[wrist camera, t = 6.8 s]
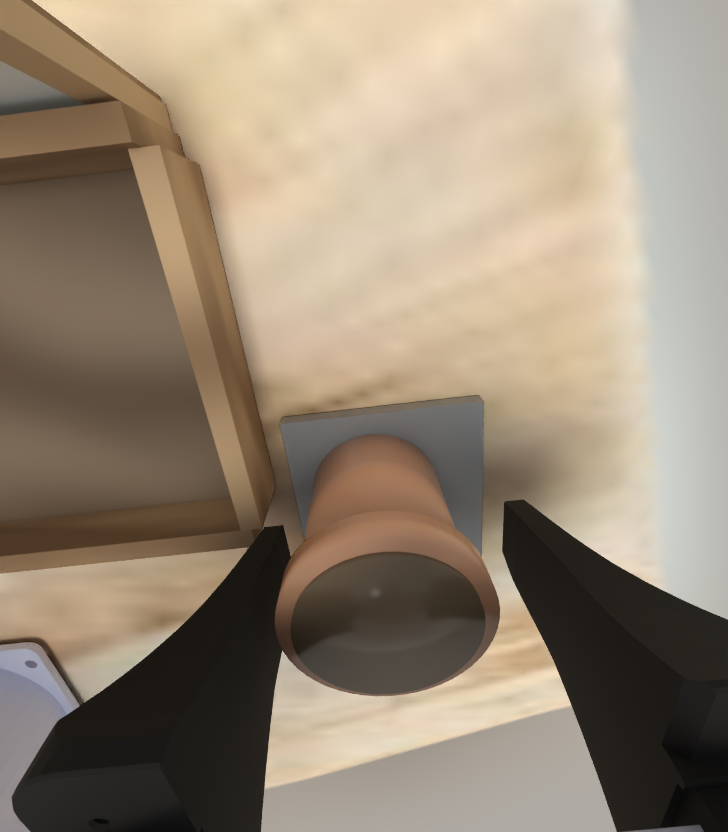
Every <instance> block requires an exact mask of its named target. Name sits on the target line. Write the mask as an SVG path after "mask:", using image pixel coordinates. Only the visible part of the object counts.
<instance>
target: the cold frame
mask: <svg viewBox="0 0 728 832" xmlns="http://www.w3.org/2000/svg"><path fill="white" fill-rule="evenodd" d="M22 1H23V2H24V3H26V4H27V5H29V6H30V7H31V8H33V9H34V10H35V11H37V12H38V13H40V14H41V15H42V16H44V17H45V18H46V19H48V20H49V21H51V22H52V23H53V24H55V25H56V26H57V27H59V28H60V29H62V30H63V31H64V32H66V33H67V34H68V35H70V36H71V37H73V38H74V39H75V40H77V41H78V42H79V43H81V44H82V45H84V46H85V47H86V48H88V49H89V50H90V51H92V52H93V53H95V54H96V55H97V56H99V57H100V58H102V59H103V60H104V61H106V62H107V63H108V64H110V65H111V66H113V67H114V68H115V69H117V70H118V71H119V72H121V73H122V74H124V75H125V76H126V77H128V78H129V79H130V80H132V81H133V82H135V83H136V84H137V85H139V86H140V87H141V88H143V89H144V90H146V91H147V92H148V93H150V94H151V95H152V96H154V97H155V98H157V99H158V100H159V101H161V100H160V96H159V95H157V94H156V93H155V92H153V91H152V90H151V89H149V88H148V87H147V86H145V85H144V84H143V83H141V82H140V81H139V80H137V79H136V78H135V77H133V76H132V75H131V74H129V73H128V72H127V71H125V70H124V69H123V68H121V67H120V66H119V65H117V64H116V63H115V62H113V61H112V60H111V59H109V58H108V57H107V56H105V55H104V54H103V53H101V52H100V51H99V50H97V49H96V48H95V47H93V46H92V45H91V44H89V43H88V42H87V41H85V40H84V39H83V38H81V37H80V36H79V35H77V34H76V33H75V32H73V31H72V30H71V29H69V28H68V27H67V26H65V25H64V24H63V23H61V22H60V21H59V20H57V19H56V18H55V17H53V16H52V15H51V14H49V13H48V12H47V11H45V10H44V9H42V8H41V7H40V6H38V5H37V4H36V3H34V2H33V1H32V0H22ZM275 486H276V485H275V481H274V477H273V472H272V468H271V464H270V460H269V456H268V451H267V447H266V443H265V439H264V435H263V430H262V426H261V422H260V418H259V414H258V409H257V405H256V401H255V397H254V393H253V388H252V384H251V380H250V376H249V372H248V367H247V363H246V359H245V355H244V351H243V346H242V342H241V338H240V334H239V330H238V325H237V321H236V317H235V313H234V308H233V304H232V300H231V296H230V292H229V287H228V283H227V279H226V275H225V271H224V266H223V262H222V258H221V254H220V250H219V245H218V241H217V237H216V233H215V229H214V224H213V220H212V216H211V212H210V208H209V203H208V199H207V195H206V191H205V187H204V182H203V178H202V174H201V170H200V166H199V164H197V163H195V162H192V161H190V160H188V159H186V158H185V157H184V153H183V149H182V145H181V141H180V137H179V136H178V135H176V134H175V133H173V132H171V131H170V130H168V129H166V128H165V127H163V126H161V125H160V124H158V123H157V122H155V121H153V120H152V119H150V118H148V117H147V116H145V115H143V114H142V113H140V112H138V111H137V110H135V109H133V108H132V107H130V106H128V105H127V104H125V103H123V102H122V101H112V102H104V103H96V104H88V105H81V106H73V107H65V108H57V109H49V110H41V111H34V112H26V113H18V114H10V115H2V116H0V573H9V572H19V571H28V570H38V569H47V568H57V567H66V566H75V565H85V564H94V563H104V562H113V561H123V560H132V559H141V558H151V557H160V556H170V555H179V554H189V553H198V552H207V551H217V550H226V549H236V548H245V547H250V546H251V545H252V543H253V542H254V540H255V539H256V538H257V536H258V535H259V534H260V532H261V530H262V528H263V525H264V521H265V518H266V515H267V512H268V508H269V505H270V502H271V499H272V496H273V492H274V489H275Z"/></svg>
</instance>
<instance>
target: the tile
mask: <svg viewBox="0 0 728 832" xmlns="http://www.w3.org/2000/svg"><path fill="white" fill-rule="evenodd" d="M279 425H280V430H281V434H282V439H283V443H284V448H285V453H286V457H287V462H288V466H289V471H290V476H291V480H292V485H293V489H294V494H295V499H296V503H297V508H298V512H299V517H300V522H301V526H302V531H303V535H304V539H305V532H306V526H307V520H308V514H309V507H310V501H311V495H312V489H313V483H314V478H315V474H316V471H317V469H318V467H319V465H320V463H321V462H322V460H323V459H324V458H325V457H326V455H327V454H328V453H329V452H331V451H332V450H333V449H334V448H335V447H337V446H338V445H340V444H342V443H343V442H345V441H347V440H350V439H353V438H355V437H359V436H364V435H372V434H382V435H390V436H394V437H398V438H401V439H404V440H406V441H408V442H410V443H412V444H413V445H415V446H416V447H418V448H419V449H420V450H421V451H422V452H423V453H424V454H425V455H426V456H427V458H428V459H429V460H430V462H431V464H432V466H433V468H434V471H435V473H436V476H437V479H438V482H439V485H440V487H441V490H442V493H443V496H444V499H445V501H446V504H447V507H448V510H449V513H450V515H451V518H452V521H453V524H454V527H455V529H456V530H458V531H459V532H461V533H462V534H463V535H464V536H465V537H466V538H468V539H469V540H470V541H471V542H472V544H473V545H474V546H475V547H476V549H477V550H478V552H479V553H480V555H481V557H482V495H483V427H484V401H483V400H482V399H481V397H480V396H479V395H476V396H467V397H459V398H450V399H441V400H432V401H423V402H414V403H405V404H396V405H387V406H378V407H369V408H360V409H351V410H342V411H334V412H325V413H316V414H307V415H298V416H289V417H282V419H281V422H280V424H279Z"/></svg>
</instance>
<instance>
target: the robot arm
mask: <svg viewBox="0 0 728 832" xmlns="http://www.w3.org/2000/svg"><path fill="white" fill-rule="evenodd" d="M502 551H503V554H504V557H505V560H506V563H507V565H508V568H509V571H510V573H511V576H512V579H513V581H514V583H515V585H516V587H517V589H518V591H519V593H520V595H521V597H522V599H523V601H524V603H525V605H526V607H527V609H528V611H529V613H530V615H531V617H532V618H533V620H534V622H535V624H536V626H537V628H538V630H539V632H540V634H541V636H542V638H543V640H544V642H545V644H546V646H547V648H548V650H549V652H550V654H551V656H552V658H553V660H554V663H555V665H556V667H557V670H558V672H559V675H560V677H561V680H562V682H563V685H564V687H565V690H566V692H567V695H568V697H569V700H570V702H571V705H572V708H573V710H574V712H575V715H576V718H577V721H578V723H579V726H580V728H581V731H582V733H583V736H584V739H585V741H586V744H587V747H588V750H589V752H590V756H591V758H592V761H593V764H594V767H595V769H596V772H597V775H598V778H599V780H600V783H601V786H602V789H603V792H604V795H605V798H606V801H607V804H608V807H609V809H610V812H611V815H612V818H613V821H614V824H615V827H616V830H617V832H728V620H727V619H725V618H722V617H720V616H717V615H715V614H712V613H710V612H708V611H706V610H703V609H701V608H699V607H696V606H694V605H692V604H690V603H687V602H685V601H683V600H681V599H679V598H677V597H675V596H673V595H671V594H669V593H667V592H665V591H663V590H661V589H659V588H657V587H655V586H653V585H651V584H649V583H647V582H645V581H643V580H641V579H640V578H638V577H636V576H634V575H633V574H631V573H629V572H627V571H625V570H624V569H622V568H620V567H618V566H617V565H615V564H613V563H612V562H610V561H609V560H607V559H605V558H604V557H602V556H601V555H599V554H598V553H596V552H595V551H593V550H592V549H590V548H589V547H587V546H586V545H584V544H583V543H581V542H580V541H578V540H577V539H575V538H574V537H573V536H571V535H570V534H568V533H567V532H566V531H564V530H563V529H562V528H560V527H559V526H558V525H556V524H555V523H554V522H552V521H551V520H550V519H548V518H547V517H546V516H544V515H543V514H542V513H540V512H539V511H538V510H537V509H535V508H534V507H533V506H531V505H530V504H529V503H527V502H526V501H525V500H515V501H506V502H504V523H503V547H502ZM290 559H291V556H290V552H289V548H288V544H287V539H286V535H285V531H284V527H283V525H281V526H272V527H264V529H263V530H262V531H261V532H260V534H259V535H258V536H257V538H256V539H255V540H254V542H253V543H252V545H251V546H250V547H249V549H248V550H247V551H246V553H245V554H244V555H243V557H242V558H241V559H240V560H239V562H238V563H237V564H236V566H235V567H234V568H233V569H232V571H231V572H230V573H229V574H228V576H227V577H226V578H225V579H224V581H223V582H222V583H221V584H220V585H219V586H218V588H217V589H216V590H215V591H214V592H213V593H212V595H211V596H210V597H209V598H208V599H207V600H206V601H205V602H204V604H203V605H202V606H201V607H200V608H199V609H198V610H197V611H196V612H195V613H194V614H193V615H192V616H191V617H190V618H189V619H188V620H187V621H186V622H185V623H184V624H183V625H182V626H181V627H180V628H179V629H178V630H177V631H176V632H174V633H173V634H172V635H171V636H170V637H169V638H168V639H166V640H165V641H164V642H163V643H162V644H161V645H160V646H158V647H157V648H156V649H155V650H154V651H153V652H152V653H150V654H149V655H148V656H147V657H146V658H144V659H143V660H142V661H141V662H139V663H138V664H137V665H136V666H134V667H133V668H132V669H131V670H129V671H128V672H127V673H125V674H124V675H123V676H121V677H120V678H119V679H117V680H116V681H115V682H114V683H112V684H111V685H109V686H108V687H107V688H105V689H104V690H103V691H101V692H100V693H98V694H97V695H95V696H94V697H92V698H91V699H89V700H88V701H86V702H85V703H83V704H82V705H81V706H80V705H79V703H78V702H77V700H76V699H75V697H74V696H73V694H72V693H71V691H70V690H69V688H68V686H67V685H66V683H65V682H64V680H63V679H62V677H61V676H60V674H59V673H58V671H57V670H56V668H55V667H54V665H53V663H52V662H51V660H50V659H49V657H48V656H47V654H46V653H45V651H44V650H43V648H42V647H41V646H40V645H38V644H37V643H33V642H24V643H15V644H5V645H0V832H261V820H262V808H263V796H264V785H265V773H266V762H267V752H268V742H269V733H270V723H271V715H272V706H273V697H274V689H275V684H276V678H277V672H278V668H279V663H280V658H281V653H282V648H281V646H280V644H279V642H278V638H277V635H276V631H275V611H276V606H277V601H278V596H279V592H280V587H281V582H282V578H283V574H284V571H285V568H286V566H287V564H288V562H289V560H290Z"/></svg>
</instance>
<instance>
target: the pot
mask: <svg viewBox="0 0 728 832" xmlns="http://www.w3.org/2000/svg"><path fill="white" fill-rule="evenodd" d="M499 619H500V606H499V600H498V596H497V593H496V590H495V588H494V585H493V583H492V580H491V578H490V575H489V573H488V571H487V568H486V566H485V563H484V561H483V559H482V557H481V555H480V553H479V552H478V550H477V549H476V547H475V546H474V545H473V544H472V542H471V541H470V540H469V539H468V538H466V537H465V536H464V535H463V534H462V533H461V532H459V531H458V530H456V529H455V527H454V524H453V521H452V518H451V515H450V513H449V510H448V507H447V504H446V501H445V499H444V496H443V493H442V490H441V487H440V485H439V482H438V479H437V476H436V473H435V471H434V468H433V466H432V464H431V462H430V460H429V459H428V458H427V456H426V455H425V454H424V453H423V452H422V451H421V450H420V449H419V448H418V447H416V446H415V445H413V444H412V443H410V442H408V441H406V440H404V439H401V438H398V437H394V436H390V435H382V434H372V435H364V436H359V437H355V438H353V439H350V440H347V441H345V442H343V443H342V444H340V445H338V446H337V447H335V448H334V449H333V450H332V451H331V452H329V453H328V454H327V455H326V457H325V458H324V459H323V460H322V462H321V463H320V465H319V467H318V469H317V471H316V474H315V478H314V483H313V489H312V495H311V501H310V507H309V514H308V520H307V526H306V532H305V539H304V542H303V544H302V545H301V546H300V547H299V548H298V549H297V550H296V551H295V553H294V554H293V556H292V557H291V559H290V560H289V562H288V564H287V566H286V568H285V571H284V574H283V578H282V582H281V587H280V592H279V596H278V601H277V606H276V611H275V631H276V635H277V638H278V642H279V644H280V646H281V648H282V650H283V652H284V653H285V654H286V656H287V657H288V659H289V660H290V661H291V662H292V663H293V664H294V665H295V666H296V667H297V668H298V669H299V670H300V671H302V672H303V673H304V674H306V675H307V676H309V677H310V678H312V679H314V680H315V681H317V682H319V683H321V684H324V685H326V686H328V687H331V688H334V689H337V690H340V691H344V692H348V693H353V694H359V695H368V696H394V695H404V694H409V693H414V692H419V691H422V690H426V689H429V688H432V687H435V686H438V685H440V684H442V683H445V682H447V681H449V680H451V679H453V678H454V677H456V676H458V675H459V674H461V673H463V672H464V671H465V670H467V669H468V668H469V667H471V666H472V665H473V664H474V663H475V662H476V661H477V660H478V659H479V658H480V657H481V656H482V655H483V654H484V652H485V651H486V650H487V649H488V647H489V646H490V644H491V642H492V640H493V639H494V636H495V634H496V631H497V628H498V624H499Z"/></svg>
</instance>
